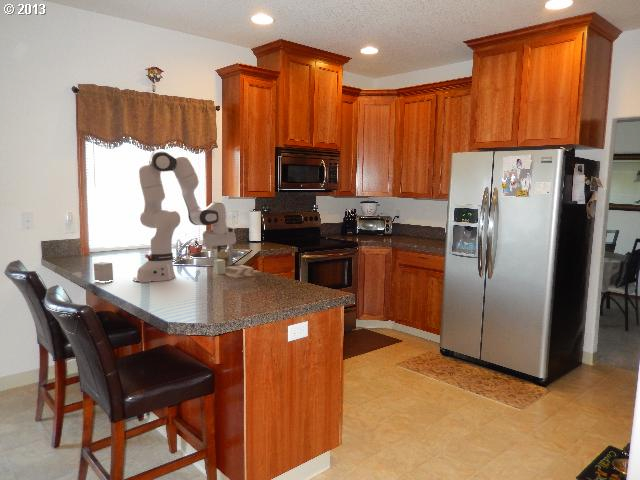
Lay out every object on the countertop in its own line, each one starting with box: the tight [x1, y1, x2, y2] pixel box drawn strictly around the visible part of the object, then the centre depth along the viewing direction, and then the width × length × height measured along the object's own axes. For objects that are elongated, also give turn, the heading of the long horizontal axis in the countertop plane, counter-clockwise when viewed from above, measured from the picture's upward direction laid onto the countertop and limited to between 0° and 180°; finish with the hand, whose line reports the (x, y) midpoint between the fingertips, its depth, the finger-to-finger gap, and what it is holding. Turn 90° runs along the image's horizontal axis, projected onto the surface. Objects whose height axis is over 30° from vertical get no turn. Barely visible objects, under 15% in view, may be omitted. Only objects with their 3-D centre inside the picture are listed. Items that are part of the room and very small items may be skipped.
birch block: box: [224, 264, 255, 279], centre depth 274 cm, size 12×12×5 cm
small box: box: [93, 261, 114, 281], centre depth 254 cm, size 8×6×10 cm
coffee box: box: [216, 244, 234, 266], centre depth 312 cm, size 9×6×16 cm
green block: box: [213, 259, 226, 275], centre depth 280 cm, size 5×5×8 cm
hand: (220, 252), depth 280 cm, fingers open, 8 cm apart
